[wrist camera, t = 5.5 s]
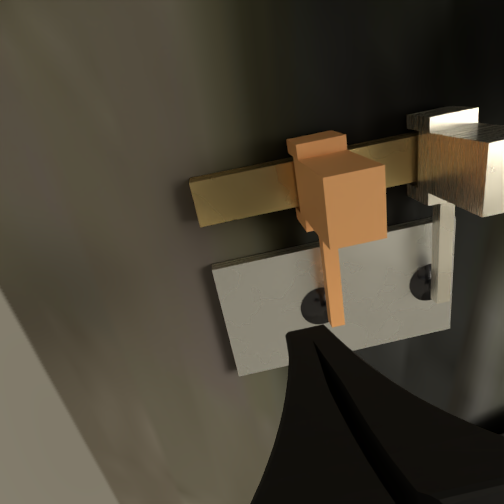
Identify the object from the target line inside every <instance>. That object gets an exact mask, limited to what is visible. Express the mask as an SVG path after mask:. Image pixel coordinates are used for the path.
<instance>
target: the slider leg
mask: <svg viewBox="0 0 504 504" xmlns="http://www.w3.org/2000/svg"><path fill="white" fill-rule="evenodd" d="M286 141H287V149H288V153H289V154H290V155H292V156H293V159H294V167H295V175H296V182H297V190H298V197H299V205H300V206H298V207H296V214H297V219H298V221H299V222H300V223H301V225H302V226H303V227H304V229H305V230H306V231H307V232H310V231H315V232H316V233H317V235H318V236H319V243H320V252H321V261H322V270H323V279H324V288H325V296H326V305H327V308H326V310H327V314H328V321H329V323H330V325H331V327H332V328H333V327H337V326H341V325H345V318H344V307H343V296H342V285H341V274H340V263H339V252H338V249H339V248H343V247H348V246H353V245H357V244H362V243H367V242H371V241H376V240H380V239H385V238H387V213H386V178H385V165H384V164H381V163H379V162H376V161H374V160H371V159H369V158H366V157H364V156H361V155H359V154H356V153H354V152H351V151H349V150H347V140H346V134H342V133H339V132H336V131H332V130H330V131H325V132H320V133H315V134H310V135H305V136H301V137H296V138H291V139H286Z"/></svg>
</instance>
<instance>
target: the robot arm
mask: <svg viewBox="0 0 504 504" xmlns="http://www.w3.org/2000/svg"><path fill="white" fill-rule="evenodd" d="M285 337H286V343H287V349H288V356H289V365H288V381H287V388H286V396H285V402H284V407H283V412H282V417H281V421H280V425H279V429H278V432H277V436H276V439H275V443H274V446H273V449H272V452H271V455H270V458H269V460H268V463H267V466H266V468H265V471H264V474H263V476H262V479H261V481H260V484H259V486H258V488H257V490H256V492H255V495H254V497H253V499H252V501H251V503H250V504H504V436H502V435H499V434H496V433H493V432H491V431H488V430H485V429H483V428H481V427H478V426H476V425H474V424H471V423H469V422H467V421H464V420H462V419H460V418H458V417H456V416H453V415H451V414H449V413H447V412H445V411H443V410H441V409H439V408H437V407H435V406H433V405H431V404H430V403H428V402H426V401H424V400H422V399H420V398H418V397H417V396H415V395H413V394H411V393H410V392H408V391H407V390H405V389H403V388H402V387H400V386H399V385H397V384H396V383H394V382H393V381H391V380H390V379H388V378H387V377H385V376H384V375H383V374H381V373H380V372H378V371H377V370H376V369H374V368H373V367H372V366H370V365H369V364H368V363H367V362H365V361H364V360H363V359H362V358H360V357H359V356H358V355H357V354H356V353H354V352H353V351H352V350H351V349H350V348H349V347H347V346H346V345H345V344H344V343H343V342H342V341H341V340H340V339H339V338H337V337H336V336H335V335H334V334H333V333H332V332H331V331H330V330H329V329H328V328H327V327H326V326H325V325H318V326H313V327H308V328H304V329H299V330H294V331H290V332H288V333H287V334H286V335H285Z"/></svg>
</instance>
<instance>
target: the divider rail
mask: <svg viewBox="0 0 504 504" xmlns="http://www.w3.org/2000/svg"><path fill="white" fill-rule="evenodd" d="M478 112H479V107H464V106H447V107H442V108H437V109H432V110H427V111H422V112H418V113H413V114H408V115H406V123H407V129H412V130H417V131H415V132H410V133H405V134H400V135H396V136H391V137H386V138H381V139H376V140H371V141H367V142H362V143H357V144H352V145H347V150H349V151H351V152H354V153H356V154H359V155H361V156H364V157H366V158H369V159H371V160H374V161H376V162H379V163H381V164H384V165H385V178H386V188H388V187H393V186H397V185H402V184H407V196H409V197H411V198H413V199H415V200H417V201H419V202H421V203H423V204H425V205H427V206H431V205H433V223H432V261H431V282H430V284H429V286H428V288H429V289H430V290H431V299H432V300H433V301H434V302H436V303H437V304H439V303H444V302H448V301H450V292H451V272H452V253H453V234H454V215H455V205H456V206H458V207H461V208H463V209H465V210H467V211H469V212H472V213H474V214H476V215H478V216H481V217H486V216H491V215H495V214H500V213H504V126H503V125H494V124H485V123H478ZM189 185H190V189H191V193H192V197H193V201H194V205H195V209H196V213H197V216H198V220H199V224H200V227H204V226H209V225H214V224H218V223H223V222H228V221H232V220H237V219H242V218H247V217H251V216H256V215H261V214H265V213H270V212H275V211H280V210H284V209H289V208H294V207H298V206H300V205H299V197H298V190H297V182H296V175H295V167H294V159H293V157H289V158H284V159H280V160H275V161H270V162H265V163H260V164H255V165H251V166H246V167H241V168H236V169H231V170H226V171H222V172H217V173H212V174H207V175H202V176H197V177H193V178H190V180H189Z"/></svg>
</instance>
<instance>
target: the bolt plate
mask: <svg viewBox="0 0 504 504" xmlns="http://www.w3.org/2000/svg"><path fill="white" fill-rule="evenodd" d="M432 223H433V217H429V218H424V219H419V220H415V221H410V222H405V223H401V224H396V225H392V226H387V238H385V239H380V240H376V241H371V242H367V243H362V244H357V245H353V246H348V247H343V248H339V249H338V252H339V263H340V274H341V285H342V296H343V307H344V318H345V325H341V326H337V327H333V328H332V327H331V325H330V323H329V321H328V314H327V310H326V308H327V305H326V296H325V288H324V279H323V270H322V261H321V252H320V243H319V241H317V242H313V243H308V244H304V245H299V246H294V247H290V248H285V249H280V250H276V251H271V252H267V253H262V254H257V255H253V256H248V257H243V258H239V259H234V260H229V261H225V262H220V263H216V264H212V273H213V277H214V280H215V284H216V288H217V292H218V296H219V300H220V304H221V308H222V312H223V316H224V320H225V324H226V328H227V331H228V335H229V339H230V343H231V347H232V351H233V355H234V359H235V363H236V367H237V371H238V375H239V376H243V375H248V374H252V373H257V372H261V371H265V370H270V369H274V368H278V367H283V366H287V365H289V356H288V349H287V343H286V337H285V335H286V334H287V333H288V332H290V331H294V330H299V329H304V328H308V327H313V326H318V325H325V326H326V327H327V328H328V329H329V330H330V331H331V332H332V333H333V334H334V335H335V336H336V337H337V338H339V339H340V340H341V341H342V342H343V343H344V344H345V345H346V346H347V347H349V348H350V349H351V350H352V351H353V350H358V349H362V348H366V347H371V346H375V345H379V344H384V343H388V342H393V341H397V340H401V339H406V338H410V337H415V336H419V335H423V334H428V333H432V332H437V331H441V330H445V329H450V317H451V298H452V280H453V261H454V242H455V224H456V217H454V234H453V253H452V272H451V292H450V301H448V302H444V303H439V304H437V303H436V302H434V301H433V300H432V299H431V290H430V289H429V288H428V286H429V284H430V282H431V261H432Z"/></svg>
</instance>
